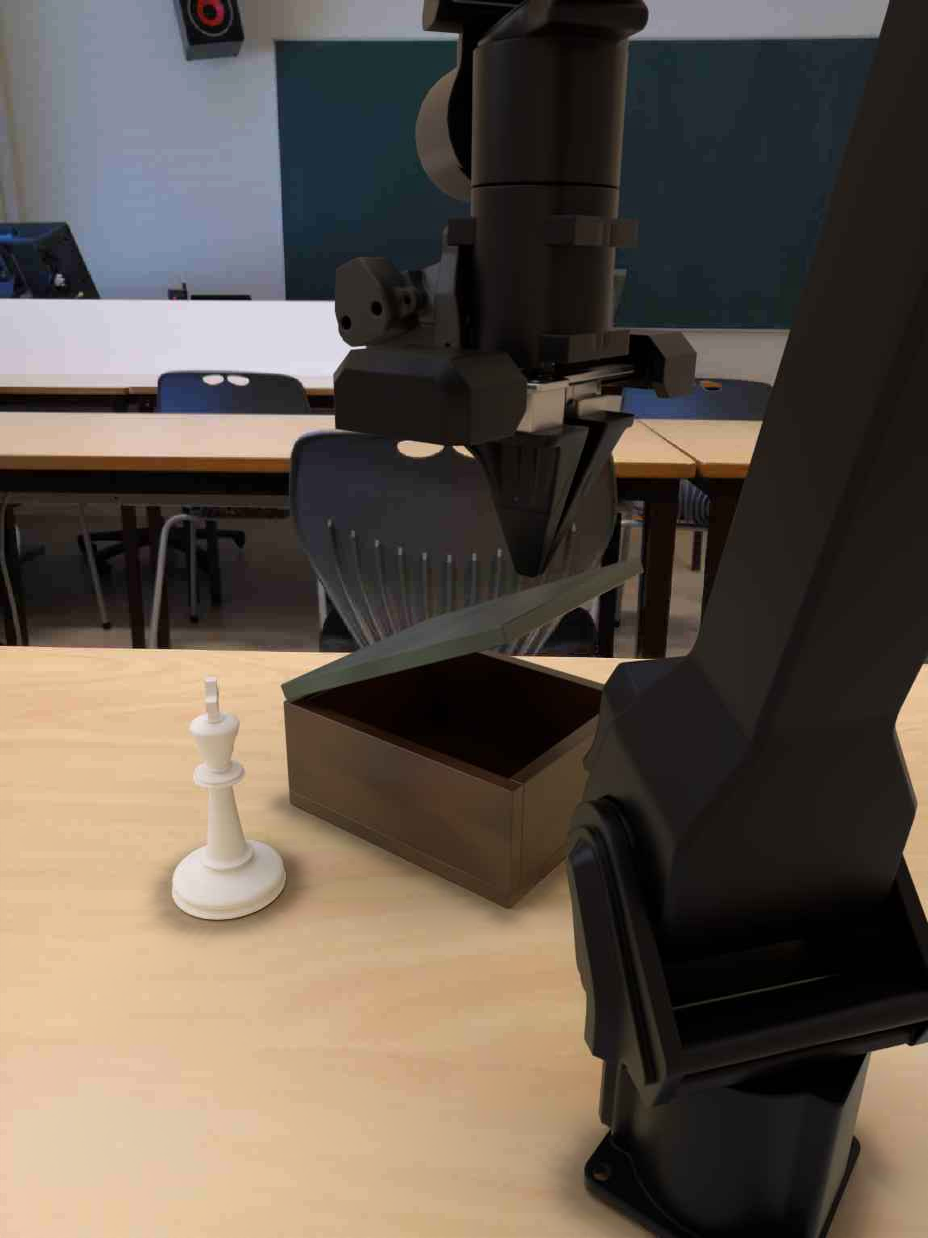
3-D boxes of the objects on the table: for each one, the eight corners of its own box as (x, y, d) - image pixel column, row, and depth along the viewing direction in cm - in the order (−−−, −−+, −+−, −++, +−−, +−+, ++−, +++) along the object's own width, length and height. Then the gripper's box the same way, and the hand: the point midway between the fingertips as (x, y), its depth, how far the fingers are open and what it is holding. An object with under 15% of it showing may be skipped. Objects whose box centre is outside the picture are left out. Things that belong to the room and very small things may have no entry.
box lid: (644, 571, 45) (639, 556, 45) (507, 644, 36) (500, 625, 36) (433, 631, 54) (429, 618, 54) (285, 700, 46) (279, 685, 45)
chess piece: (167, 927, 39) (139, 711, 35) (177, 857, 43) (153, 659, 40) (287, 913, 40) (272, 701, 36) (285, 846, 44) (271, 652, 41)
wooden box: (634, 795, 49) (643, 695, 47) (508, 909, 40) (513, 792, 38) (431, 721, 56) (431, 631, 54) (289, 803, 48) (282, 701, 46)
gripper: (509, 206, 47) (501, 506, 53) (215, 180, 34) (246, 590, 39) (717, 201, 41) (683, 541, 47) (462, 166, 27) (457, 656, 33)
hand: (529, 574), depth 42 cm, fingers closed
